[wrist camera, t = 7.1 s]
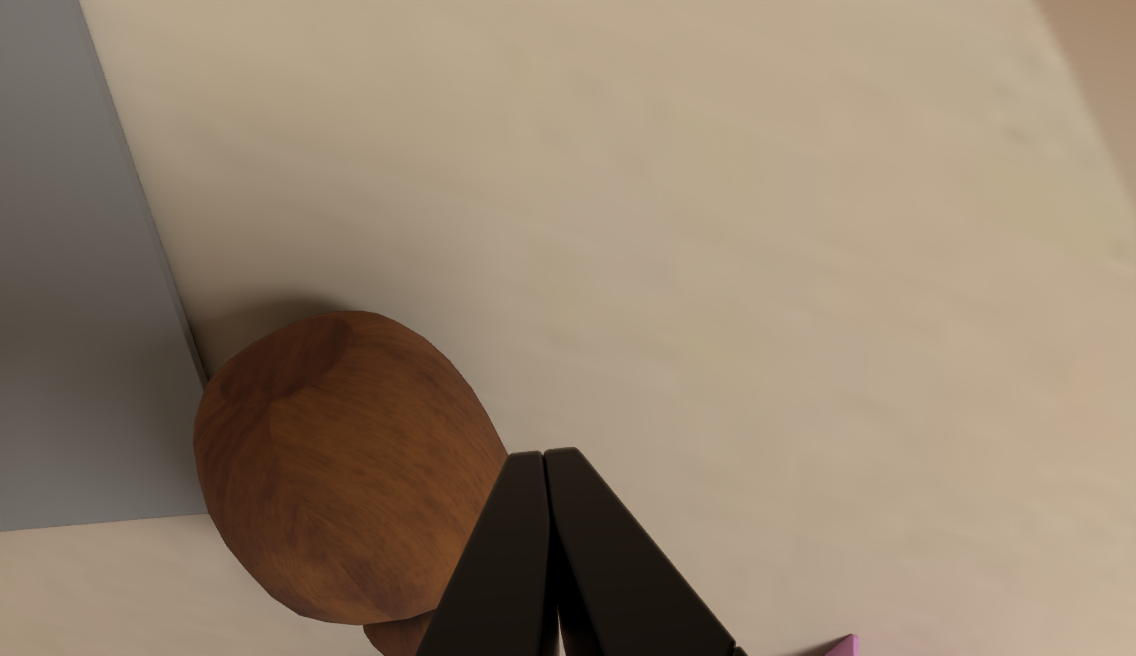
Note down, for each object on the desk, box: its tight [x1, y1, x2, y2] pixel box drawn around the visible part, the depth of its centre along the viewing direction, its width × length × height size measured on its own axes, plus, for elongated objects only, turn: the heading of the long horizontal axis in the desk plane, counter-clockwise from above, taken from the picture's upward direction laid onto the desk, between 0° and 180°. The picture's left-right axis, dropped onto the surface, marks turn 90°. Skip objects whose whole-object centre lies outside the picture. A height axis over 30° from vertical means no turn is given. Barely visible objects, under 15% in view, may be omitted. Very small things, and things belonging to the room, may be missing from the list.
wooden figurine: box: [193, 311, 508, 656], centre depth 21 cm, size 7×6×15 cm
